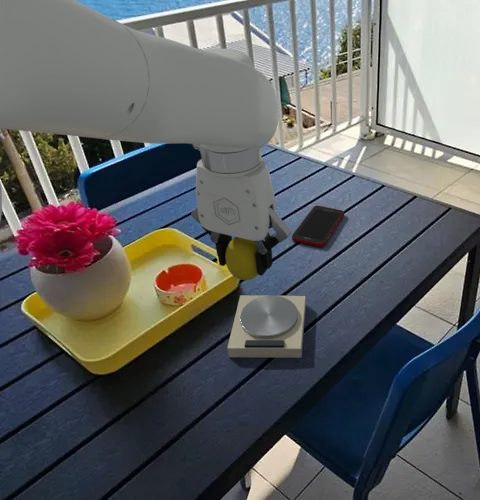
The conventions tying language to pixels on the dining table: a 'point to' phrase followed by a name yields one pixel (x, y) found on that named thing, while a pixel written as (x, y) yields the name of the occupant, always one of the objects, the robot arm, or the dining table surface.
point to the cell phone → (318, 226)
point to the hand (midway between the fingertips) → (245, 264)
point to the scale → (268, 327)
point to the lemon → (241, 258)
